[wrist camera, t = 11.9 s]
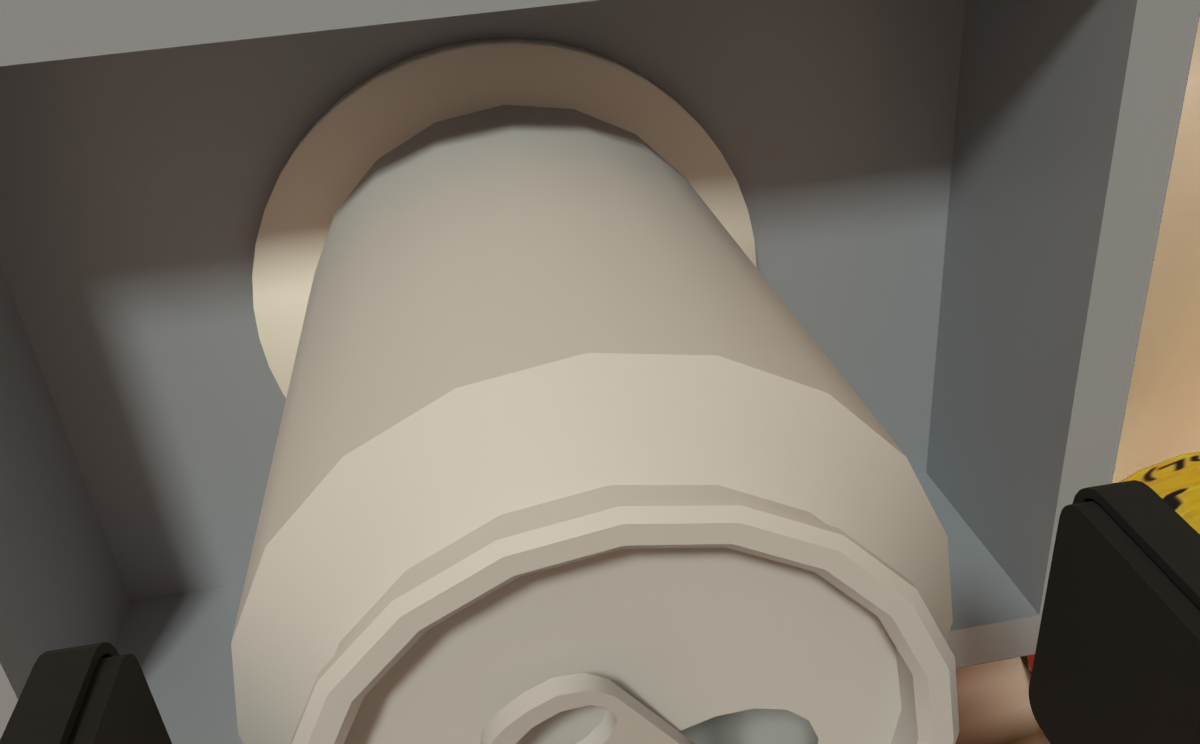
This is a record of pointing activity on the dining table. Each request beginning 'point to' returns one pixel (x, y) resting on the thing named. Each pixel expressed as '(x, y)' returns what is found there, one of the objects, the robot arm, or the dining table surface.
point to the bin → (619, 97)
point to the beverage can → (1169, 493)
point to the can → (576, 477)
